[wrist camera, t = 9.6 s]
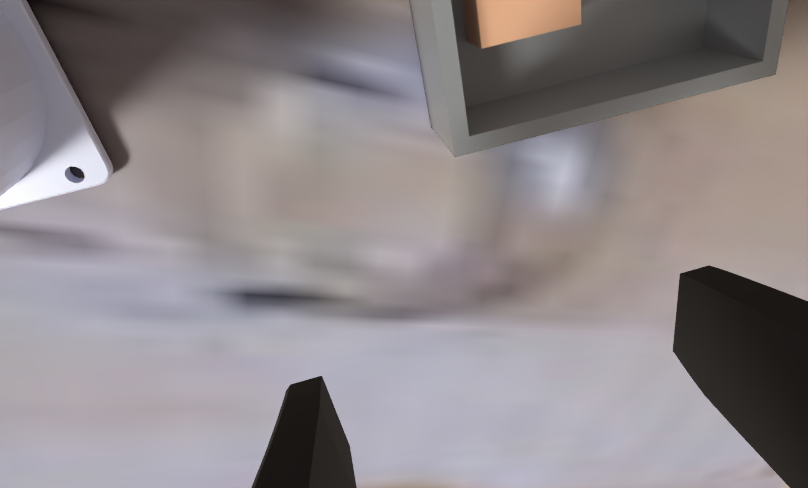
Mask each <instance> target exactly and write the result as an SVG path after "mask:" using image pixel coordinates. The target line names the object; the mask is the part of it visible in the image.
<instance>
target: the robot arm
mask: <svg viewBox="0 0 808 488" xmlns="http://www.w3.org/2000/svg"><path fill="white" fill-rule="evenodd" d="M70 167H77V168H80V169H81V170H82V171H83V172H84V176H85V178H78V177H75V176H74V175H73V174H72V173H71V172H70ZM112 173H113V166H112V162H111V161H110V159H109V157H108V155H107V153H106V151H105V149H104V147H103V145H102V143H101V141H100V140H99V138H98V136H97V134H96V132H95V130H94V128H93V126H92V124H91V122H90V120H89V119H88V117H87V115H86V113H85V111H84V109H83V107H82V105H81V103H80V101H79V100H78V98H77V96H76V94H75V92H74V90H73V88H72V86H71V84H70V82H69V80H68V79H67V77H66V75H65V73H64V71H63V69H62V67H61V65H60V63H59V61H58V60H57V58H56V56H55V54H54V52H53V50H52V48H51V46H50V44H49V42H48V40H47V39H46V37H45V35H44V33H43V31H42V29H41V27H40V25H39V23H38V21H37V20H36V18H35V16H34V14H33V12H32V10H31V8H30V6H29V4H28V2H27V0H0V210H2V209H6V208H10V207H14V206H18V205H22V204H26V203H30V202H34V201H38V200H42V199H46V198H50V197H54V196H58V195H62V194H66V193H70V192H74V191H78V190H82V189H86V188H90V187H94V186H98V185H101V184H103V183H105V182H106V181H107V180H108V179H109V178H110V177H111V175H112ZM673 352H674V353H675V355H676V356H677V357H678V359H679V360H680V362H681V363H682V365H683V366H684V368H685V369H686V370H687V372H688V373H689V375H690V376H691V377H692V379H693V380H694V382H695V383H696V384H697V386H698V387H699V388H700V390H701V391H702V392H703V394H704V395H705V396H706V397H707V398H708V399H709V401H710V402H711V403H712V404H713V405H714V406H715V407H716V408H717V409H718V410H719V412H720V413H721V414H722V415H723V416H724V417H725V418H726V419H727V420H728V421H729V423H730V424H731V425H732V426H733V427H734V428H735V429H736V430H737V431H738V432H739V433H740V434H741V436H742V437H743V438H744V439H745V440H746V441H747V442H748V443H749V444H750V445H751V446H752V447H753V448H754V449H755V451H756V452H757V453H758V454H759V455H760V456H761V457H762V458H763V459H764V460H765V461H766V462H767V463H768V464H769V466H770V467H771V468H772V469H773V470H774V471H775V472H776V473H777V474H778V475H779V476H780V477H781V478H782V480H783V481H784V482H785V483H786V484H787V485H788V486H789V487H790V488H808V301H806V300H803V299H800V298H798V297H795V296H792V295H790V294H787V293H784V292H782V291H779V290H776V289H774V288H771V287H768V286H766V285H763V284H760V283H758V282H755V281H752V280H750V279H747V278H744V277H742V276H739V275H736V274H733V273H730V272H728V271H725V270H722V269H719V268H716V267H712V266H706V267H702V268H699V269H695V270H692V271H688V272H685V273H681V274H680V280H679V291H678V301H677V312H676V323H675V334H674V344H673ZM252 488H356V482H355V476H354V470H353V464H352V457H351V451H350V445H349V443H348V440H347V438H346V435H345V433H344V430H343V428H342V425H341V423H340V420H339V418H338V415H337V413H336V410H335V408H334V405H333V403H332V400H331V398H330V395H329V393H328V390H327V388H326V385H325V383H324V380H323V378H322V376H319V377H316V378H312V379H309V380H305V381H302V382H298V383H295V384H291V385H290V386H289V388H288V389H287V391H286V393H285V397H284V400H283V403H282V406H281V409H280V413H279V416H278V419H277V422H276V425H275V427H274V430H273V433H272V436H271V439H270V441H269V444H268V447H267V450H266V453H265V455H264V458H263V460H262V463H261V465H260V468H259V470H258V473H257V475H256V478H255V480H254V483H253V485H252Z"/></svg>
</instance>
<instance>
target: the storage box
mask: <svg viewBox="0 0 808 488" xmlns="http://www.w3.org/2000/svg"><path fill="white" fill-rule="evenodd" d="M788 1H789V0H409V2H410V8H411V14H412V19H413V25H414V31H415V37H416V43H417V48H418V54H419V60H420V66H421V71H422V77H423V83H424V89H425V95H426V100H427V106H428V112H429V118H430V123H431V128H432V129H433V130H434V132H435V133H436V134H437V135H438V137H439V138H440V139H441V140H442V142H443V143H444V144H445V145H446V147H447V148H448V149H449V151H450V152H451V153H452V154H453V156H454V157H458V156H462V155H465V154H469V153H473V152H477V151H481V150H485V149H489V148H493V147H496V146H500V145H504V144H508V143H512V142H516V141H520V140H524V139H527V138H531V137H535V136H539V135H543V134H547V133H551V132H555V131H559V130H562V129H566V128H570V127H574V126H578V125H582V124H586V123H590V122H593V121H597V120H601V119H605V118H609V117H613V116H617V115H621V114H624V113H628V112H632V111H636V110H640V109H644V108H648V107H652V106H655V105H659V104H663V103H667V102H671V101H675V100H679V99H683V98H687V97H690V96H694V95H698V94H702V93H706V92H710V91H714V90H718V89H721V88H725V87H729V86H733V85H737V84H741V83H745V82H749V81H752V80H756V79H760V78H764V77H768V76H772V75H776V69H777V64H778V58H779V52H780V47H781V41H782V35H783V30H784V24H785V18H786V12H787V7H788Z"/></svg>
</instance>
